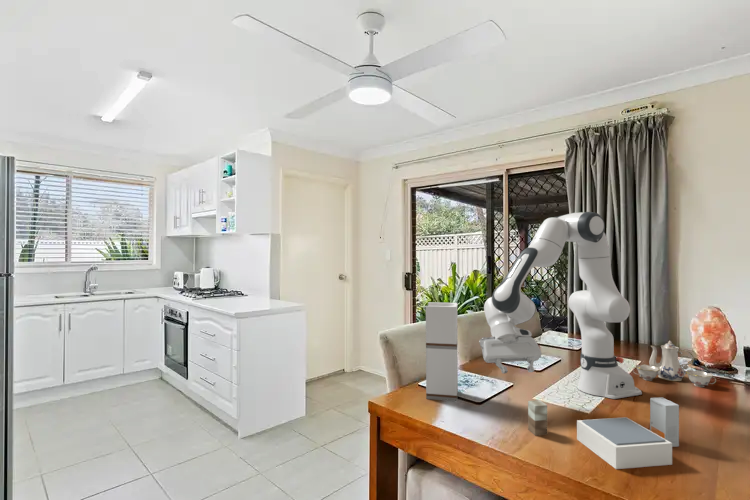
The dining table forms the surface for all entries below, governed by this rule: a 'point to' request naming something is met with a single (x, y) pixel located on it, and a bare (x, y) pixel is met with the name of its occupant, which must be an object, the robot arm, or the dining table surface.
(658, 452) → the block
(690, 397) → the dining table surface
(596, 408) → the dining table surface
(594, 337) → the robot arm
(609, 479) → the dining table surface
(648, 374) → the chinaware
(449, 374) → the banded white tower
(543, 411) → the block
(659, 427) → the skincare box
